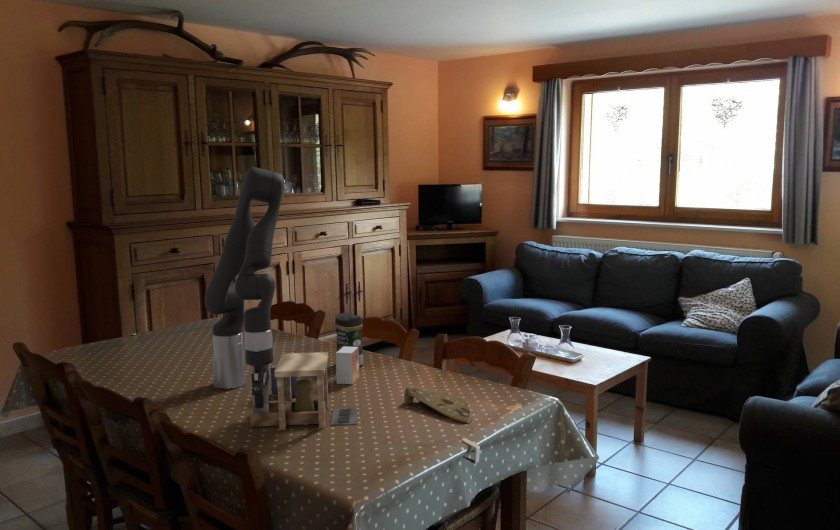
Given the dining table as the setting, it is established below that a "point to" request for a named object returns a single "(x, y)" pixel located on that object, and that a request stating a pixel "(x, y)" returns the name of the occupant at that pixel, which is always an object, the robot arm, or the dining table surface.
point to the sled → (271, 411)
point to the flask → (293, 380)
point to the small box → (347, 365)
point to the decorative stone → (440, 402)
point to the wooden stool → (317, 367)
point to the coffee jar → (349, 332)
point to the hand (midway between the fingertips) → (262, 402)
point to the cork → (304, 396)
